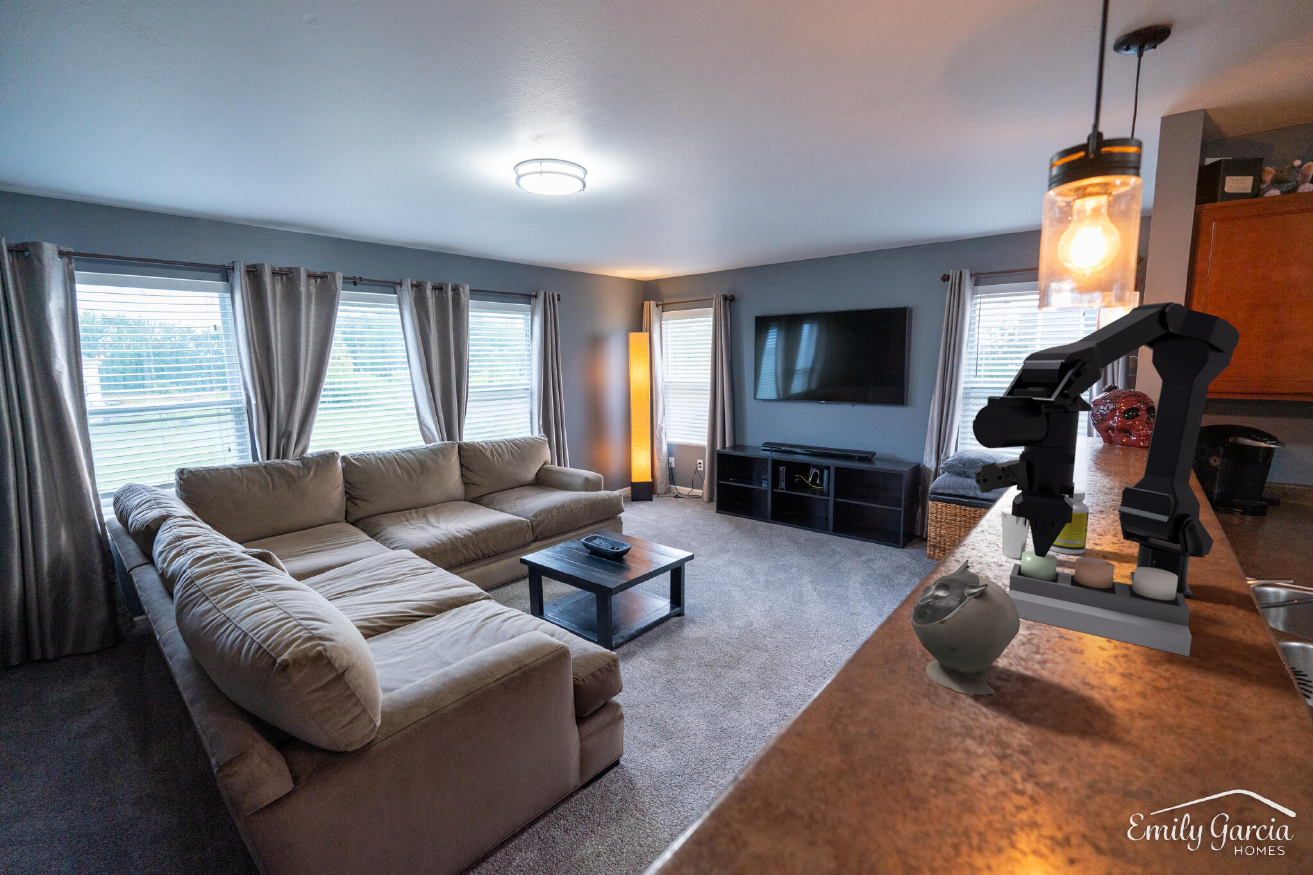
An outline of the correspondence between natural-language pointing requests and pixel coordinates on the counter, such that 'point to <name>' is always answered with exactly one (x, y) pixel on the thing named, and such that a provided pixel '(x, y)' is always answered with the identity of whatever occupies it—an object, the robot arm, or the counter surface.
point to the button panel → (1103, 611)
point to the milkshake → (1013, 533)
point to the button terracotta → (1094, 572)
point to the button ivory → (1155, 583)
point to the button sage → (1038, 566)
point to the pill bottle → (1074, 528)
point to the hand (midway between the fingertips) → (1040, 556)
